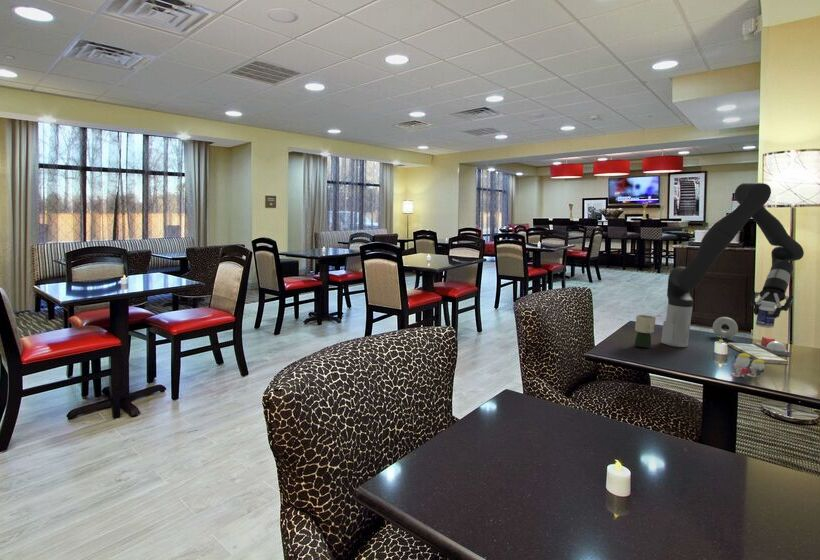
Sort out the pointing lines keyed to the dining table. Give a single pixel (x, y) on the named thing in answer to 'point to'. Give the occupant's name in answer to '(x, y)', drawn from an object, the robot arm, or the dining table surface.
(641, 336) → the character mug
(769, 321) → the pill bottle
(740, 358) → the toy figures
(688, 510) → the dining table surface
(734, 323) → the donut
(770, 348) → the dice dome
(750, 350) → the game track
